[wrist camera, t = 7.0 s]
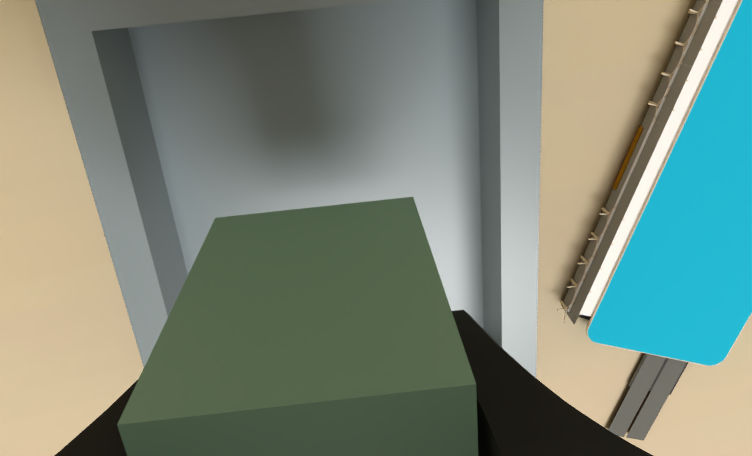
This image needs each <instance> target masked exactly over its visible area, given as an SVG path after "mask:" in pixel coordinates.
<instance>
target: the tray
mask: <svg viewBox="0 0 752 456" xmlns="http://www.w3.org/2000/svg"><path fill="white" fill-rule="evenodd" d="M35 2H36V5H37V8H38V12H39V15H40V19H41V22H42V25H43V29H44V32H45V35H46V39H47V42H48V46H49V49H50V52H51V56H52V59H53V62H54V66H55V69H56V72H57V76H58V79H59V83H60V86H61V89H62V93H63V96H64V99H65V103H66V106H67V110H68V113H69V116H70V120H71V123H72V126H73V130H74V133H75V137H76V140H77V143H78V147H79V150H80V153H81V157H82V160H83V163H84V167H85V170H86V174H87V177H88V180H89V184H90V187H91V190H92V194H93V197H94V201H95V204H96V207H97V211H98V214H99V217H100V221H101V224H102V227H103V231H104V234H105V238H106V241H107V244H108V248H109V251H110V254H111V258H112V261H113V265H114V268H115V271H116V275H117V278H118V281H119V285H120V288H121V291H122V295H123V298H124V302H125V305H126V308H127V312H128V315H129V318H130V322H131V325H132V329H133V332H134V335H135V339H136V342H137V345H138V349H139V352H140V356H141V359H142V362H143V366H144V367H145V365H146V363H147V361H148V359H149V356H150V354H151V352H152V350H153V348H154V346H155V344H156V342H157V340H158V337H159V335H160V333H161V331H162V329H163V327H164V325H165V323H166V321H167V318H168V316H169V314H170V312H171V310H172V308H173V306H174V304H175V302H176V299H177V297H178V295H179V293H180V291H181V289H182V287H183V285H184V283H185V280H186V278H187V276H188V274H189V272H190V270H191V268H192V266H193V264H194V262H195V259H196V257H197V255H198V253H199V251H200V249H201V247H202V245H203V243H204V240H205V238H206V236H207V234H208V232H209V230H210V228H211V226H212V224H213V221H214V219H215V218H217V217H227V216H236V215H246V214H255V213H264V212H274V211H283V210H292V209H302V208H311V207H321V206H330V205H339V204H349V203H358V202H367V201H377V200H386V199H396V198H405V197H413V198H414V201H415V204H416V207H417V210H418V213H419V216H420V219H421V222H422V225H423V228H424V231H425V234H426V237H427V240H428V242H429V245H430V248H431V251H432V254H433V257H434V260H435V263H436V266H437V269H438V272H439V275H440V278H441V281H442V284H443V287H444V290H445V293H446V296H447V299H448V302H449V305H450V308H451V311H456V310H465V311H466V312H467V313H468V314H469V315H470V316H471V317H472V318H473V319H474V320H475V321H476V322H477V323H478V324H479V325H480V326H481V327H482V328H483V329H484V330H485V331H486V332H487V333H488V334H489V335H490V336H491V337H492V338H493V339H494V340H495V341H496V342H497V343H498V344H499V345H500V346H501V347H502V348H503V349H504V350H505V351H506V352H507V353H508V354H509V355H510V356H511V357H513V358H514V359H515V360H516V361H517V362H518V363H519V364H520V365H521V366H523V367H524V368H525V369H526V370H527V371H528V372H529V373H530V374H532V375H533V376H534V377H535V378H536V354H537V303H538V251H539V199H540V147H541V96H542V44H543V0H35Z"/></svg>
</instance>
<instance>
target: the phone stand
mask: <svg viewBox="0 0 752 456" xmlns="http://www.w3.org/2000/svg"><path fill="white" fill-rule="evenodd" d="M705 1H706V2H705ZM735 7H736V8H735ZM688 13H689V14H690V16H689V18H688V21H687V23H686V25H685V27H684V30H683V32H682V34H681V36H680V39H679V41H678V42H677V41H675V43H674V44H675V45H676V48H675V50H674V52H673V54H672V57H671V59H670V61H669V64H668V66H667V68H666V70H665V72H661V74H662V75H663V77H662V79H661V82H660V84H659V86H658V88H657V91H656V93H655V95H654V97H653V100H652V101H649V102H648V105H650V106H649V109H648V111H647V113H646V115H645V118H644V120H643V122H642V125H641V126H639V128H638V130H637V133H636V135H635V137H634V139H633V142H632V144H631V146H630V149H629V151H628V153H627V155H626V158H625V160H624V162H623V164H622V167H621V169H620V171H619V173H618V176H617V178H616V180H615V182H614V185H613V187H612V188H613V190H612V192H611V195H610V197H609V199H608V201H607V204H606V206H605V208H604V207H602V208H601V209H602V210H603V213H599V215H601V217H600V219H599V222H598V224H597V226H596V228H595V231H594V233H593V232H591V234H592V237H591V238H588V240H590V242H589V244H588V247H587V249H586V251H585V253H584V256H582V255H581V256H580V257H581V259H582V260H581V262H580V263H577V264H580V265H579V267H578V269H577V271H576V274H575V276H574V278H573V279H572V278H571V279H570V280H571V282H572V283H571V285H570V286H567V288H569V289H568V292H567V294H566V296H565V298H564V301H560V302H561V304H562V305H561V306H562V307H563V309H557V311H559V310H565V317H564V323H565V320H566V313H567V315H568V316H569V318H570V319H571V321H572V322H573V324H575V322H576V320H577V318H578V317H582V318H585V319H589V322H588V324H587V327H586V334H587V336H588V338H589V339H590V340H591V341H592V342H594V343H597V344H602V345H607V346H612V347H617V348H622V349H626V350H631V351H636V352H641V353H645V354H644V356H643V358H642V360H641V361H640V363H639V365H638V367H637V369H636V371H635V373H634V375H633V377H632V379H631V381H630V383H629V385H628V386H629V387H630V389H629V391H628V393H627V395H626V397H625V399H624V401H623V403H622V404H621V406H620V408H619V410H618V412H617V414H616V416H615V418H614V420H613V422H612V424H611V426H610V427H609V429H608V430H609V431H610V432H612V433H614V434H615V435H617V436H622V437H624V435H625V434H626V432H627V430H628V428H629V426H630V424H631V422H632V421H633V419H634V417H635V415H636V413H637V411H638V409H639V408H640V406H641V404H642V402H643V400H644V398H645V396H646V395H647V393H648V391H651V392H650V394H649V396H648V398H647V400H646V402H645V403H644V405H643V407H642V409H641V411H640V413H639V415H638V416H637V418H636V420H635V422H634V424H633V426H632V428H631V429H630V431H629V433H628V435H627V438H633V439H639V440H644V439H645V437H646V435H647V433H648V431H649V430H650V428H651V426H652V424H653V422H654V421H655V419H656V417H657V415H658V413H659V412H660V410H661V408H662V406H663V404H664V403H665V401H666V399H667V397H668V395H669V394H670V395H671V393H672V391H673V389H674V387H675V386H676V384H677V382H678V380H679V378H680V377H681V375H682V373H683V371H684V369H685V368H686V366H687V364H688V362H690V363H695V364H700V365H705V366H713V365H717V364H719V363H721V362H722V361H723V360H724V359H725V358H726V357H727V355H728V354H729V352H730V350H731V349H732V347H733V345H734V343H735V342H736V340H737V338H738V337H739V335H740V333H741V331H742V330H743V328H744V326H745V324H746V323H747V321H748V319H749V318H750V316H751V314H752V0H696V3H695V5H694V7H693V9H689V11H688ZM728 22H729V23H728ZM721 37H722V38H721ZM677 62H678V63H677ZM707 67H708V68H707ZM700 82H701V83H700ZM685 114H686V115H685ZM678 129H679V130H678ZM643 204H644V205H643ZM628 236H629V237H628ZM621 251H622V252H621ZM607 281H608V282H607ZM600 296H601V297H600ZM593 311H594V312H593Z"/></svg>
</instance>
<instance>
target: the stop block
mask: <svg viewBox="0 0 752 456" xmlns="http://www.w3.org/2000/svg"><path fill="white" fill-rule="evenodd" d="M117 426H118V429H119V432H120V435H121V438H122V441H123V444H124V447H125V450H126V453H127V456H478V428H477V394H476V382H475V379H474V376H473V373H472V370H471V367H470V364H469V361H468V358H467V355H466V352H465V349H464V346H463V343H462V340H461V337H460V334H459V332H458V329H457V326H456V323H455V320H454V317H453V314H452V311H451V308H450V305H449V302H448V299H447V296H446V293H445V290H444V287H443V284H442V281H441V278H440V275H439V272H438V269H437V266H436V263H435V260H434V257H433V254H432V251H431V248H430V245H429V242H428V240H427V237H426V234H425V231H424V228H423V225H422V222H421V219H420V216H419V213H418V210H417V207H416V204H415V201H414V198H413V197H405V198H396V199H386V200H377V201H367V202H358V203H349V204H339V205H330V206H321V207H311V208H302V209H292V210H283V211H274V212H264V213H255V214H246V215H236V216H227V217H217V218H215V219H214V221H213V224H212V226H211V228H210V230H209V232H208V234H207V236H206V238H205V240H204V243H203V245H202V247H201V249H200V251H199V253H198V255H197V257H196V259H195V262H194V264H193V266H192V268H191V270H190V272H189V274H188V276H187V278H186V280H185V283H184V285H183V287H182V289H181V291H180V293H179V295H178V297H177V299H176V302H175V304H174V306H173V308H172V310H171V312H170V314H169V316H168V318H167V321H166V323H165V325H164V327H163V329H162V331H161V333H160V335H159V337H158V340H157V342H156V344H155V346H154V348H153V350H152V352H151V354H150V356H149V359H148V361H147V363H146V365H145V367H144V369H143V371H142V373H141V375H140V377H139V380H138V382H137V384H136V386H135V388H134V390H133V392H132V394H131V396H130V399H129V401H128V403H127V405H126V407H125V409H124V411H123V413H122V415H121V418H120V420H119V422H118V424H117Z"/></svg>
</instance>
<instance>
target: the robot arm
mask: <svg viewBox="0 0 752 456" xmlns="http://www.w3.org/2000/svg"><path fill="white" fill-rule="evenodd" d="M452 314H453V317H454V320H455V323H456V326H457V329H458V332H459V334H460V337H461V340H462V343H463V346H464V349H465V352H466V355H467V358H468V361H469V364H470V367H471V370H472V373H473V376H474V379H475V382H476V394H477V428H478V456H653V455H651V454H649V453H647V452H645V451H644V450H642V449H640V448H638V447H636V446H634V445H632V444H631V443H629V442H627V441H625V440H624V439H622V438H620V437H619V436H617V435H615V434H614V433H612V432H610V431H609V430H607V429H606V428H604V427H603V426H601V425H599V424H598V423H596V422H595V421H593V420H592V419H590V418H589V417H587V416H586V415H584V414H583V413H581V412H579V411H578V410H577V409H575V408H574V407H572V406H571V405H569V404H568V403H567V402H565V401H564V400H563V399H561V398H560V397H559V396H558V395H556V394H555V393H554V392H552V391H551V390H550V389H549V388H547V387H546V386H545V385H544V384H542V383H541V382H540V381H539V380H538V379H536V378H535V377H534V376H533V375H532V374H530V373H529V372H528V371H527V370H526V369H525V368H524V367H523V366H521V365H520V364H519V363H518V362H517V361H516V360H515V359H514V358H513V357H511V356H510V355H509V354H508V353H507V352H506V351H505V350H504V349H503V348H502V347H501V346H500V345H499V344H498V343H497V342H496V341H495V340H494V339H493V338H492V337H491V336H490V335H489V334H488V333H487V332H486V331H485V330H484V329H483V328H482V327H481V326H480V325H479V324H478V323H477V322H476V321H475V320H474V319H473V318H472V317H471V316H470V315H469V314H468V313H467V312H466V311H465V310H456V311H452ZM138 380H139V379H138ZM138 380H137V381H136V382H135V383H134V384H133V385H132V386H131V387H130V388H129V389H128V390H127V391H126V392H125V393H124V394H123V395H122V396H120V397H119V398H118V399H117V400H116V401H115V402H114V403H113V404H112V405H111V406H110V407H109V408H108V409H107V410H106V411H105V412H104V413H103V414H102V415H100V416H99V417H98V418H97V419H96V420H95V421H94V422H92V423H91V424H90V425H89V426H88V427H87V428H86V429H85V430H83V431H82V432H81V433H80V434H79V435H78V436H77V437H76V438H74V439H73V440H72V441H71V442H70V443H69V444H68V445H66V446H65V447H64V448H63V449H62V450H61V451H60V452H58V453H57V454H56V455H55V456H127V453H126V450H125V447H124V444H123V441H122V438H121V435H120V432H119V429H118V426H117V424H118V422H119V420H120V418H121V415H122V413H123V411H124V409H125V407H126V405H127V403H128V401H129V399H130V396H131V394H132V392H133V390H134V388H135V386H136V384H137V382H138Z"/></svg>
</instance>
